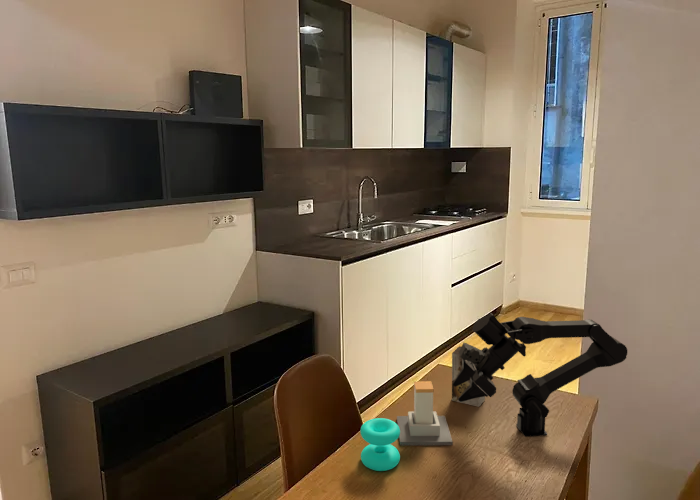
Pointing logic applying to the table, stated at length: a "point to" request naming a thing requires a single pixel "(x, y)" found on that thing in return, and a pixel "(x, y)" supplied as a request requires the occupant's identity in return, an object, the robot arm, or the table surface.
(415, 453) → the table surface
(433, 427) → the socket
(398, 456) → the donuts
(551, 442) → the table surface
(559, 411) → the table surface
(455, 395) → the coffee box
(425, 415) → the plug
